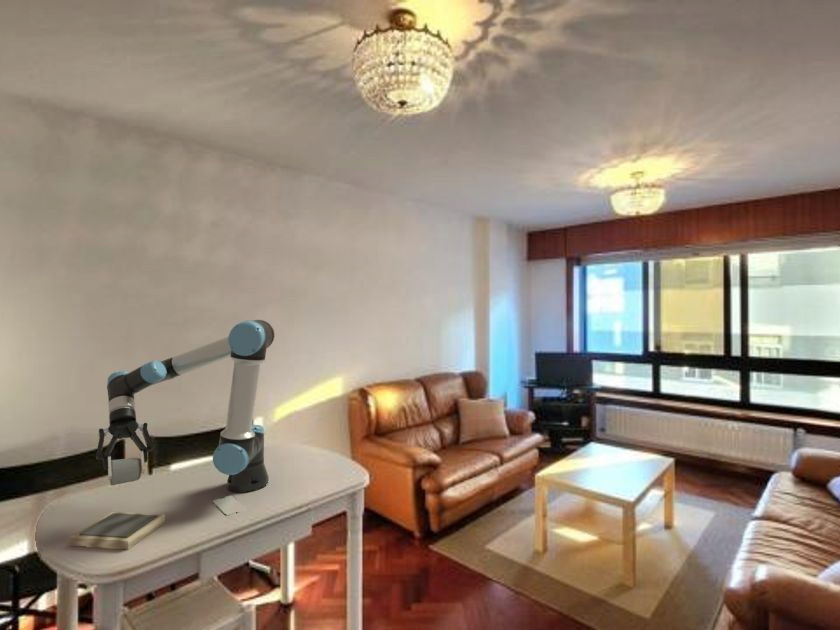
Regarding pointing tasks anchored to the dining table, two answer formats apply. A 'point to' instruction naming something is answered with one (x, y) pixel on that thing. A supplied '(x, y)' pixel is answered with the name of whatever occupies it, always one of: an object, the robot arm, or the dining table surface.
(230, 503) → the smartphone
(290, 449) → the dining table surface
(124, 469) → the ceramic mug
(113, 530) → the wooden picture frame
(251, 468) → the robot arm
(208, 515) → the dining table surface
